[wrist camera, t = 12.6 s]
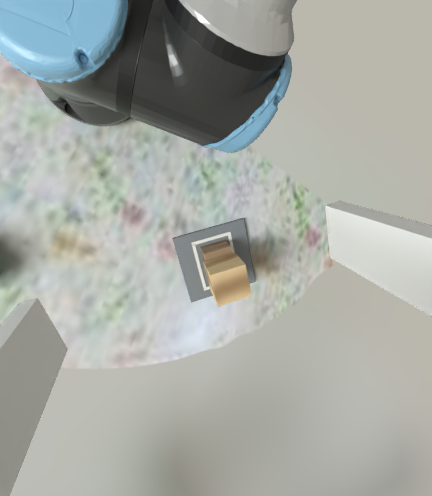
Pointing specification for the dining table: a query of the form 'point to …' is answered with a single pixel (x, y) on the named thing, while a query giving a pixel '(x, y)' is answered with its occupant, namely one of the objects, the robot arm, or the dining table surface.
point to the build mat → (193, 258)
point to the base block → (215, 250)
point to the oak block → (227, 278)
